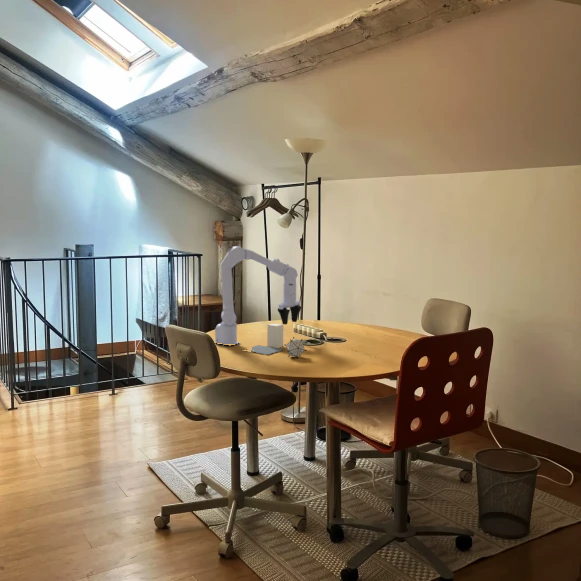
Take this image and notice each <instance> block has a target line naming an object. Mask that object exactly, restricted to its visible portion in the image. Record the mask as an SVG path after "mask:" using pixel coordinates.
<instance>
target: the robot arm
mask: <svg viewBox="0 0 581 581" xmlns="http://www.w3.org/2000/svg"><path fill="white" fill-rule="evenodd" d="M243 260H245V261H246V260H247V261H248V260H252V261H254V262H256V263H260V264H262V265H263V266H266V267H267V270H268V271H269V272H272V273H274V274H276V275H278V276H280V277H283V300H282V301H283V302H282V303H280V304H278V308H277V312H278V313H279V316H280V319H281V323H282V324H283V325H288V322H289V314H290V316H291V322H293V323H297V322H298V318H299V314H300V312H301V310H302V306H301V301H299V300H297V277H298V275H299V274H298V271H297V269H296V268H294V267H293V266H291V265H290V264H288V263H284V262H282V261H281V260H280V258H276V259H275V258H272V259H269V258H268V257H265V256H263V255H261V254H259V253H257V252H255V251H253V250H251V249H247V248H244V247H241V246H239V245H235V246H232V247H231V248H230V249H229V250H228V251H227V253H226V254H225V256H224V258H223V259H222V261H221V263H220V269H221V271H220V272H221V289H222V291H221V294H222V311H221V314H220V318H221V320H222V321H221V322H220V323H218V324H217V325H216V327H215V328H214V332H215V333H214V337H215V339H214V343H215V342H216V343H222V344H237V345H239V344H238V343H242V342H239V341H238V335H237V334H238V323H237V315H236V313H235V309H234V308H235V307H234V295H233V294H234V292H233V290H234V289H233V277H232V276H233V275H232V274H233V272H232V271H233V270H232V269H233V268H234V267H235V266H236V264H238V263H240V262H243ZM288 308H289V309H288Z"/></svg>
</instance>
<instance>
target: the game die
mask: <svg viewBox="0 0 581 581" xmlns="http://www.w3.org/2000/svg"><path fill="white" fill-rule="evenodd" d="M284 346H285V347H286V350H287V351H286V353H288V356H287V357H288V358H289V357H295V358H296V359H297V360H298V357H301V355H302V354H303V353H304V352H307V351H308V350H307V349H305V346H304V343H303V338H301V339H298V338H295V336H293V338H292V339H289V342H288V343H286V344H284Z"/></svg>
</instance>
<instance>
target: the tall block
mask: <svg viewBox="0 0 581 581" xmlns="http://www.w3.org/2000/svg"><path fill="white" fill-rule="evenodd" d="M266 333H267V338H266V339H267V347H273V348H279V347H281V348H283V347H284V324H283V323H282V324H281V323H270V324H267V332H266ZM282 346H283V347H282Z"/></svg>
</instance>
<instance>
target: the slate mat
mask: <svg viewBox="0 0 581 581" xmlns="http://www.w3.org/2000/svg"><path fill="white" fill-rule="evenodd" d="M251 347H252V350H251V352H256V353H255V354H257V353H261V354H260V355H263V354H266V355H265V356H270V355H269V354H271V355H273V354H272V353H274V354H277V353H280V352H283V351H285V349H284V348H273V347H267V346H266V345H265V346H264V345H259V344H257V345H254V346H251ZM253 350H254V351H253ZM282 350H283V351H282ZM279 351H280V352H279ZM251 352H250V353H251ZM276 352H277V353H276Z"/></svg>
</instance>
